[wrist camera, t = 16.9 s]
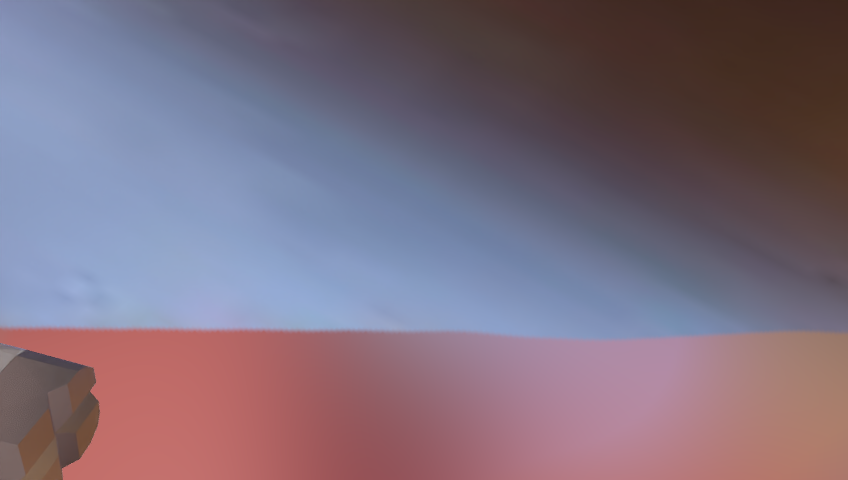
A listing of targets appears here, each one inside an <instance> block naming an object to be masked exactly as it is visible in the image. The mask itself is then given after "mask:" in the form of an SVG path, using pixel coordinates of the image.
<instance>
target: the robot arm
mask: <svg viewBox="0 0 848 480" xmlns="http://www.w3.org/2000/svg"><path fill="white" fill-rule="evenodd" d="M95 383H96V379H95V373H94V369H93V368H92V367H88V366H84V365H81V364H77V363H73V362H70V361H66V360H62V359H59V358H55V357H51V356H47V355H44V354H40V353H36V352H32V351H29V350H25V349H21V348H17V347H14V346H10V345H6V344H1V343H0V480H63V477H62V468H63V467H65V466H67V465H69V464H71V463H73V462H75V461H76V460H79V459H80V458H81V456H82V455H83V453H84V452H85V450H86V449H87V447H88V446H89V444H90V443H91V440H92V438H93V436H94V433H95V431H96V428H97V426H98V420H99V414H100V410H99V402H98V400H97V399H96V398H95V397H94V396H93V395H92V394H91V392H90V390H91V389H92V387H93V386H94V384H95Z"/></svg>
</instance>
